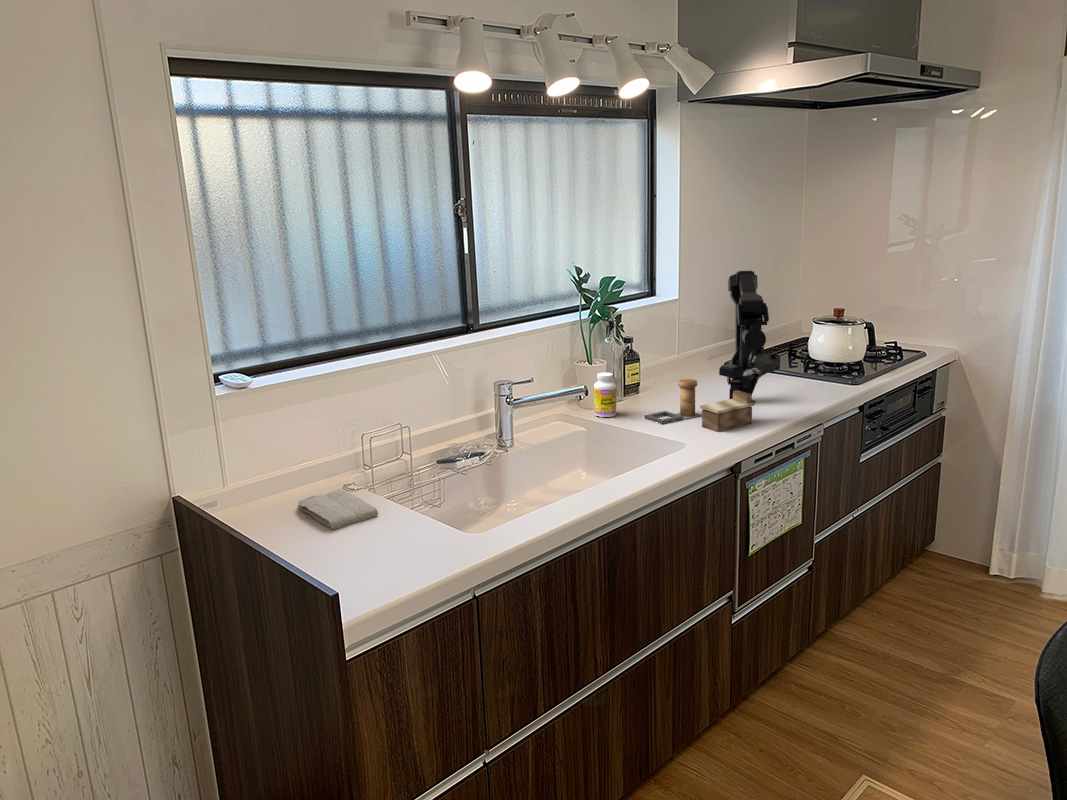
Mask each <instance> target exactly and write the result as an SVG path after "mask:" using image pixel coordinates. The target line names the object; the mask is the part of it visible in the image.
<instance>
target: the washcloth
mask: <svg viewBox="0 0 1067 800" xmlns="http://www.w3.org/2000/svg"><path fill="white" fill-rule="evenodd" d="M297 508H298V510H299V511H300V512H302V514H303V515H305V517H308V518H310V519H311V520H313V521H314V522H316V523H317V524H319V525H321V526H323V527H324V528H325V529H327V530H328V531H329V530H337V529H340V528H344V527H346V526H348V525H352V524H355V523H360V522H363V521H366V520H369V519H372V518H375V517H377V516H378V515H379V511H378V509H377V507H376V506H373V505H372V504H370V503H367V502H366V501H365V500H363V499H362V498H359V497H358V496H356V495H354V494H352V493H350V492H348V491H347V490H345V489H341V488H337V489H335V490H333V491H330V492H328V493H325V494H318V495H312V496H309V497H306V498H303V499H300V500H299V501H298V505H297Z"/></svg>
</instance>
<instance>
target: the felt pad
mask: <svg viewBox="0 0 1067 800" xmlns="http://www.w3.org/2000/svg"><path fill="white" fill-rule="evenodd" d="M676 414H677V415H680V412H677V413H676ZM680 416H681V415H680ZM699 417H702V414H700V413H697V412H695V415H694V416H690V417H685V416H683V420H690V418H691V419H695V418H699Z"/></svg>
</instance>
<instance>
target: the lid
mask: <svg viewBox="0 0 1067 800" xmlns="http://www.w3.org/2000/svg"><path fill="white" fill-rule="evenodd" d="M750 406H751V407H755V402H754V403H753V402H751V394H749V393H745V392H741V391H738V390H737V391H733V399H729V400H728V399H725V400H721V401H715V402H710V403H707V404H702V405H701V404H700V405H699V409H701V410H703V409H704V410H707V411H710V412H714V413H717V414H719V413H723V412H728V411H732V410H737V409H741V408H746V407H750Z"/></svg>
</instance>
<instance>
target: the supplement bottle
mask: <svg viewBox="0 0 1067 800" xmlns="http://www.w3.org/2000/svg"><path fill="white" fill-rule="evenodd" d="M596 377H597V381H596V382H595V383H594V384H593V390H594V391H593V398H594V399H593V403H594V404H593V407H594V412H593V413H594V415H596V417H597V416H599V417H598V418H601V417H609V418H613V417H615V416H616V415H617V384H616V383H615V381H613V379H614V375H613V372H606V371H605V372H598V373H597V375H596ZM612 416H613V417H612Z"/></svg>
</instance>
